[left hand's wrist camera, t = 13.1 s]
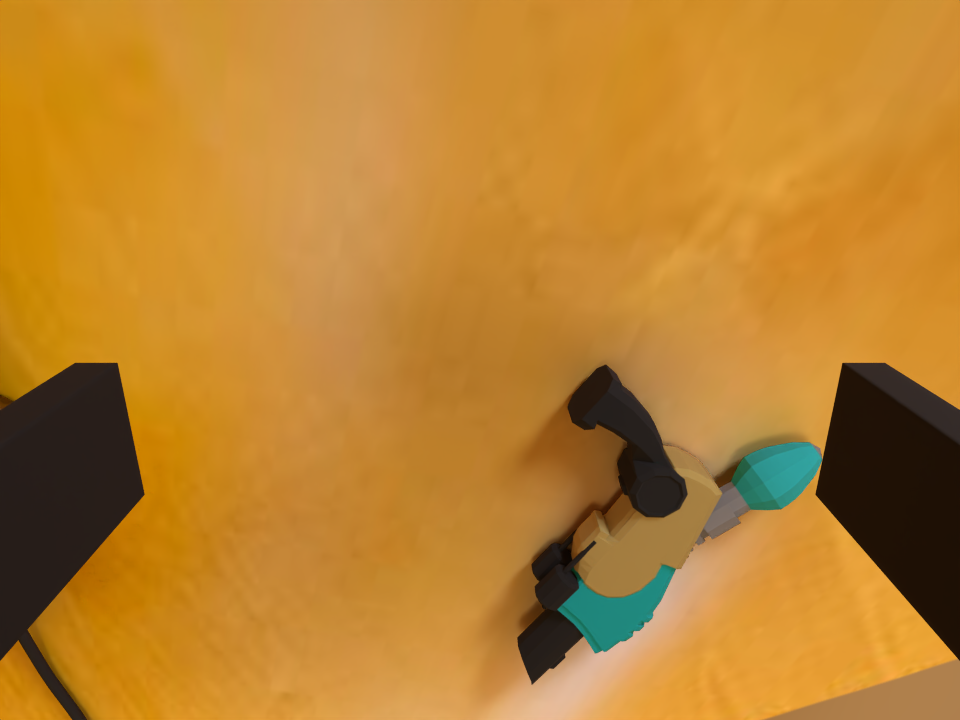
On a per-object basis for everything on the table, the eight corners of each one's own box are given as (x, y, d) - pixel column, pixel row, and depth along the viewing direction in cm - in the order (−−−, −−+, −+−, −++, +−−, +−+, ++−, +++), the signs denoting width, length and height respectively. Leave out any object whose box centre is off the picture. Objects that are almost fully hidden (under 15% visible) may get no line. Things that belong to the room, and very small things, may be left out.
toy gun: (396, 622, 44) (568, 727, 47) (670, 328, 37) (849, 475, 40) (402, 578, 48) (560, 676, 51) (650, 306, 41) (813, 440, 44)
